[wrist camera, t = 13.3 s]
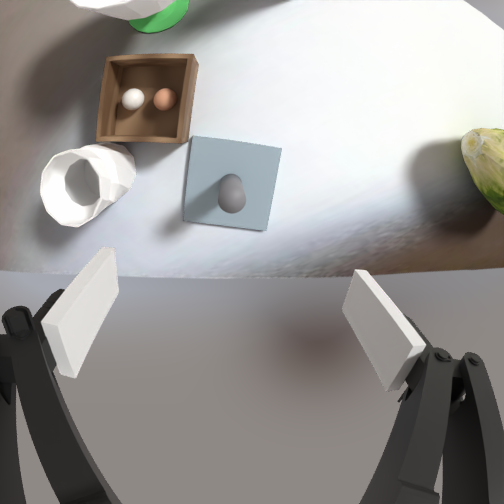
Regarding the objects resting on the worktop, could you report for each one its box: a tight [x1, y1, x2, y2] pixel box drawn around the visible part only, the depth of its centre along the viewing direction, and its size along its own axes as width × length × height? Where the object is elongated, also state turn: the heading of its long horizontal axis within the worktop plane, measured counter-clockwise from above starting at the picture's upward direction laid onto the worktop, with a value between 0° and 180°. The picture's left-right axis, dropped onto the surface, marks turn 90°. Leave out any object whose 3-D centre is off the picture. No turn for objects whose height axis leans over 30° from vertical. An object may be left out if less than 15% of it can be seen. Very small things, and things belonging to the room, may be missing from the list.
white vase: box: [40, 142, 136, 227], centre depth 31 cm, size 9×9×12 cm
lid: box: [183, 136, 282, 231], centre depth 35 cm, size 12×12×10 cm
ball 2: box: [153, 88, 177, 111], centre depth 31 cm, size 3×3×3 cm
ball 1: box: [122, 88, 144, 110], centre depth 31 cm, size 3×3×3 cm
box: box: [96, 54, 199, 143], centre depth 31 cm, size 11×11×6 cm
